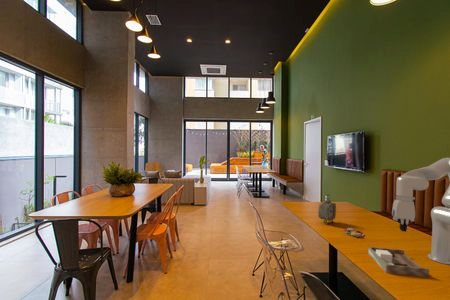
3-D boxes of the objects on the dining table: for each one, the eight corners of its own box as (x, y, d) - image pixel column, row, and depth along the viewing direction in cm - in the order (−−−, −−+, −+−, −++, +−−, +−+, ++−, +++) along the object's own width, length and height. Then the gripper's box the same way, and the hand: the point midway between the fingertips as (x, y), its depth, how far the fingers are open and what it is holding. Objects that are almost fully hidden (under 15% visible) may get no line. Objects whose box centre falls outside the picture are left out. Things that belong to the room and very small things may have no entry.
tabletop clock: (327, 226, 204) (328, 196, 204) (317, 223, 211) (318, 194, 210) (335, 222, 214) (336, 194, 213) (325, 220, 220) (326, 192, 220)
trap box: (403, 256, 149) (403, 250, 149) (428, 277, 126) (429, 269, 126) (367, 253, 153) (368, 246, 153) (386, 272, 129) (386, 265, 129)
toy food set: (358, 239, 177) (358, 234, 177) (340, 233, 188) (340, 229, 188) (366, 235, 185) (366, 231, 185) (349, 230, 196) (349, 226, 195)
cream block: (386, 257, 143) (387, 250, 143) (392, 262, 137) (392, 255, 137) (375, 256, 144) (375, 249, 144) (380, 260, 138) (380, 253, 138)
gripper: (414, 197, 141) (413, 229, 141) (386, 196, 143) (385, 227, 144) (423, 200, 134) (421, 234, 134) (393, 199, 136) (392, 232, 136)
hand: (403, 230), depth 139 cm, fingers closed
